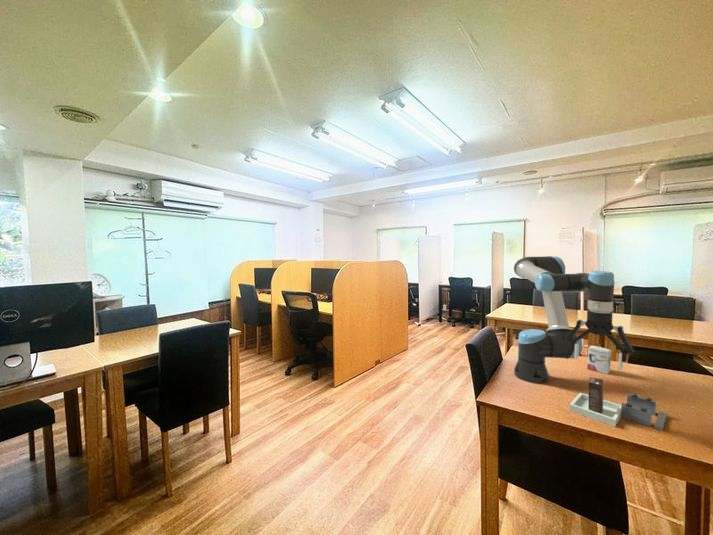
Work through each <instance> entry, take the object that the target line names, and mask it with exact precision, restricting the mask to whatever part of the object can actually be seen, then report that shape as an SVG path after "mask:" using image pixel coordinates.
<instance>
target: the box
mask: <svg viewBox="0 0 713 535" xmlns="http://www.w3.org/2000/svg"><path fill="white" fill-rule="evenodd" d="M587 385H588V387H587V388H588V390H587V391H588V395H589V397H588V398H589V400H588V401H589V402H588V407H589V410H591V411H594V412H597V413H600V414H602V412H603V400H604V380H603V379H602V378H597V377H593V376H592V377H591V376H589V379H588V384H587Z"/></svg>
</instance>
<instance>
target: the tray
mask: <svg viewBox="0 0 713 535" xmlns="http://www.w3.org/2000/svg"><path fill="white" fill-rule="evenodd" d="M588 397H589V394H587V393H584V392H583V393H582V392H579V393H578V394H577V395H576V397H574V399H573V400H572V401H570V403H569V408H568V409H569V411H570V412H573V413H575V414H578V415H581V416H584V417H587V418H589V419H592V420H594V421H597V422H600V423H604V424H606V425H608V424H609V426H611V425H612V427H614V426H617V425H618V423H619V421H620V420H621V418H622V417H621V404H619V403H614V402H611V401H608V400H605V399H603V412H602V414H600V413H597V412H594V411H591V410H589V407H588V402H589V401H588V400H589V398H588ZM616 424H617V425H616Z"/></svg>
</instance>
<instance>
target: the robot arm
mask: <svg viewBox="0 0 713 535" xmlns="http://www.w3.org/2000/svg"><path fill="white" fill-rule="evenodd" d="M513 272H514V273H515V275H517V276H518V277H519V278H521V279H527V280H528V281H530V282H531V283H534V286H535V288H536V290H537V291H539V292H541V294H542V298H543V305H544V309H545V310H544V311H545V314H546V320H547V325H548V327H547V329H546V330H545V331H544V330H542V329H535V328H533V329H531V328H530V329H524V330H521V331H520V332H519V333H518V339H517V343H518V344H517V345H518V348H517V349H518V350H517V352H518V354H517V355H518V357H517V361H516V362H515V363H516V364H515V366H514V368H513V371H514V372H513V374H514V376H515V377H517V378H518V379H520V380H522V381H525V382H529V383H535V384H543V383H547V382H548V381H550V380H549V379H550V374H549V371H548V369H547V366H546V358H547V359H549V358H553V359H566V360H568V359H574V360H578V359H579V357H580V355H581V354H582V351H583V340H582V339H583V338H584V337H585V336H587V335H588V334H590V333H591V334H593V335H599V336H603V337H604V336H606V338H608V339H609V340H610V342H612V343H613V345H614V346H616V348H617V349H618V350H619V352H618V365H617V371H620V372H621V371H622V370H623V368H624V367H623V366H624V363H626V362H627V359H628V354H631V355H632V354H633V353H634V352H635V349H634V347H633V346H632V344H631V342H630V340H629V339H628V337H627V335H626V333H625V331H624V326H623V325H619V326H618V325H616V326H615V325H613V313H612V312H613V311H614V293H615V284H616V281H615V275H614V272H611V271H605V270H591V271H590V272H589V273H587V272H577V273H566V265H565V262H564V261H563V259H562V258H560V257H559V256H552V255H547V256H524V257H522V258H520V259H518V260H517V261H516V262H515V263H514V266H513ZM563 292H568V293H570V292H573V293H575V292H580V293H581V292H582V293H587V306H586V307H587V311H586V312H587V313H586V314H587V315H586V321H584V320H582V319H578V320H577V321H576V324H575V326H574V328H572V327H570V325H569V321H568V316H567V312H566V307H565V306H566V305H565V301H564V296H563ZM584 325H585V327H586V328H587V329H586V330H585V331H583V332H581V334H577V332H578V331H579V330H580V329H581V327H583V326H584ZM613 330H614V332H616V333H618V336H619V337H620V341H622V343H621V342H620V341H619V339H617V337H616V336H615V335H614V333H613V332H612V331H613Z"/></svg>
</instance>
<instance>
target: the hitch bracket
mask: <svg viewBox="0 0 713 535" xmlns="http://www.w3.org/2000/svg"><path fill="white" fill-rule="evenodd" d="M620 405H621V418H623V419H626V420H629V421H633V422H635V423H639V424H641V425H643V426H644V425H645V426H647V427H651V426H652V418H653V417H652V416H655V415H656V414H657V413H656V411H657V410H656V409H657V400H655V399H652V398H651V397H643V396H640V395H638V394H637V393H634V392H633V393H630V392H628V393H627V396H626V402H622V403H621V404H620ZM667 417H668V413H665V412H663V411H660V410H659V411H658V414H657V417H656V420H655V422H654V429H655V430H659V431H663V430H664V426H665V424H666V420H667Z"/></svg>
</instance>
